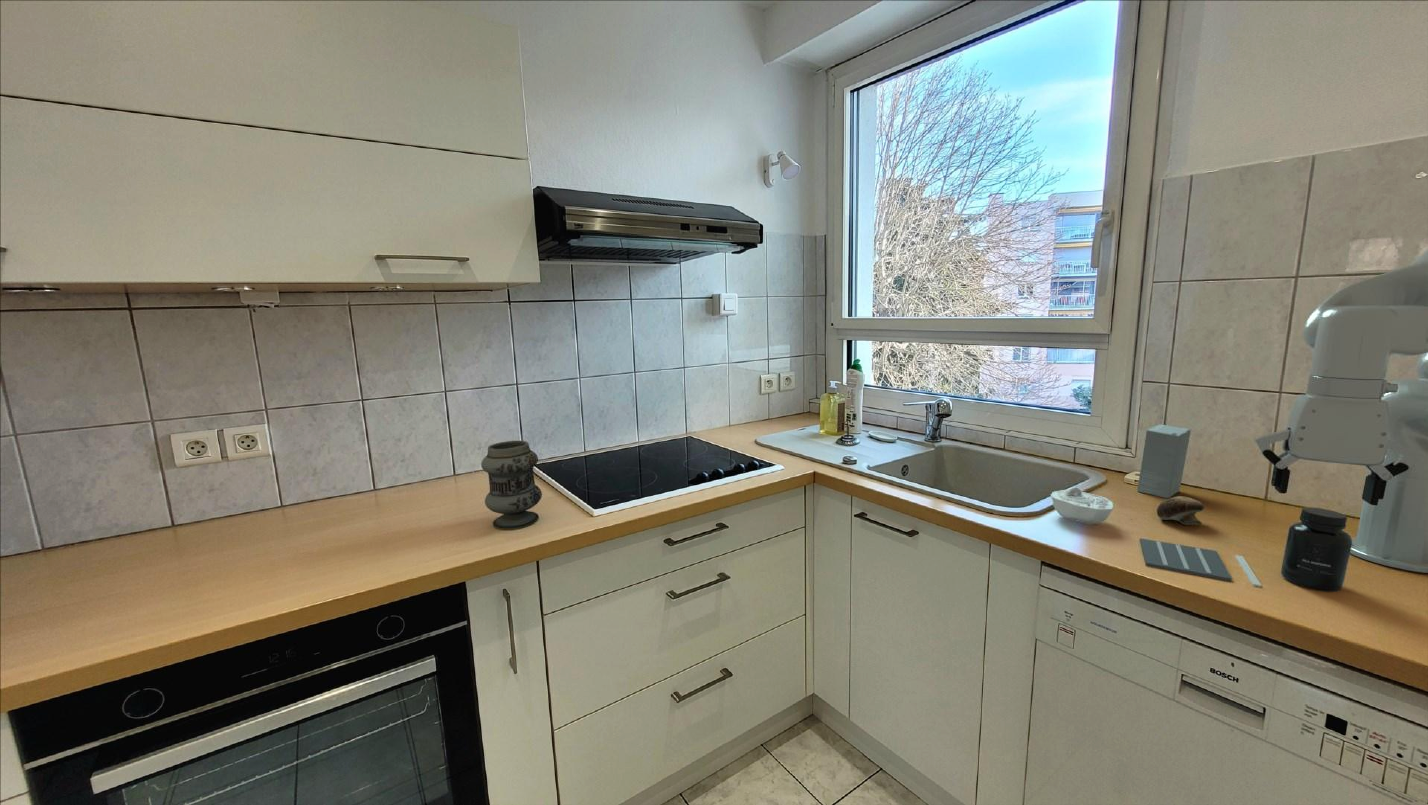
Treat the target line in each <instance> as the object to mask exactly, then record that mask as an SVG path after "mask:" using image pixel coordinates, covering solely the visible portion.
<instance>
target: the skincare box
mask: <svg viewBox="0 0 1428 805" xmlns="http://www.w3.org/2000/svg"><path fill="white" fill-rule="evenodd" d="M1191 432H1192V431H1191V429H1190V428H1185V427H1184V428H1183V427H1179V426H1172V425H1167V424H1166V425H1165V424H1157V425H1155V426H1153V427H1150V428H1149V429H1146V432H1145V440H1144V447H1143V451H1142V452H1143V453H1142V460H1141V465H1140V470H1139V478H1138V484H1137V492H1139V493H1143V494H1148V495H1153V496H1156V497H1159V498H1165V499H1170V498H1172V496H1174V495H1175V494H1177V493H1178V492H1179V491H1181V486H1182V479H1183V474H1184V470H1185V466H1186V465H1185V464H1186V457H1187V453H1188V447H1189V442H1190V436H1191Z"/></svg>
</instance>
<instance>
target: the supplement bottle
mask: <svg viewBox="0 0 1428 805" xmlns="http://www.w3.org/2000/svg"><path fill="white" fill-rule="evenodd" d="M1298 519H1299V520H1300V521H1299V522H1294V523H1293V524H1291V525H1290V526H1289V528H1288V530H1287V531H1288V532H1287V537H1286V541H1285V542H1286V543H1285V547H1284V552H1283V558H1282V563H1281V570H1280V574H1281V576H1282V578H1284V579H1285V580H1287V582H1291V583H1292V584H1294V585H1296V586H1301V587H1303V588H1306V589H1310V590H1313V591H1314V590H1315V591H1319V592H1328V593H1334V592H1339V591H1341V590H1343V587H1344V582H1345V579H1346V573H1347V570H1348V563H1349V560H1350V554H1351V553H1350V551H1351V546H1352V539H1351V535H1349V534H1348V533H1347V532H1346V531H1345V529H1346V527H1347V520H1348V517H1347V516H1346V514H1344V513H1342V512H1338V511H1334V510H1331V509H1326V508H1321V507H1313V506H1312V507H1307V506H1305V507H1303V508H1302V509H1301V512H1300V515H1299V518H1298Z"/></svg>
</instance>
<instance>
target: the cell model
mask: <svg viewBox="0 0 1428 805" xmlns="http://www.w3.org/2000/svg"><path fill="white" fill-rule="evenodd" d="M1050 498H1051V500H1052V505H1053V507H1054V509H1055V511H1056V512H1057V513H1058V514H1059V516H1061V517H1062V518H1064V519H1067V520H1070V521H1077V522H1080V523H1083V524H1086V525H1087V526H1088V525H1090V526H1091V525H1096V524H1100V523H1102V522H1103V523H1104V522H1105V521H1106V520H1107V519H1108V518H1109V516H1110V515H1111V513H1112V511H1113V510H1114V509H1115V506H1114V502H1113V501H1112V500H1110V499H1108V498H1106V497H1104V496H1101V495H1097V494H1093V493H1088V492H1085V491H1081V489H1079V487H1073V486H1072V487H1069V488H1067V489H1061V490H1055V491H1052V493H1051V494H1050Z"/></svg>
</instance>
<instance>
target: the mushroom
mask: <svg viewBox="0 0 1428 805" xmlns="http://www.w3.org/2000/svg"><path fill="white" fill-rule="evenodd" d="M1204 509H1205V505H1204V504H1203V503H1202V502H1201V501H1199V500H1196V499H1195V498H1191V497H1188V496H1182V495H1179V496H1178V495H1177V496H1174V497H1170V498H1166V499H1164V500H1163V501H1162V502H1160V503H1159V505H1158V506H1157V508H1156V515H1157V516H1158V518H1159V519H1161V520H1172V521H1173V520H1174V521H1178V522H1179V523H1180V524H1182V525H1185V526H1198V525H1199V526H1200V525H1201V524H1202V521H1200V519H1198V518H1197V517H1196V514H1197V513H1200V512H1203V510H1204Z"/></svg>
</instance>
